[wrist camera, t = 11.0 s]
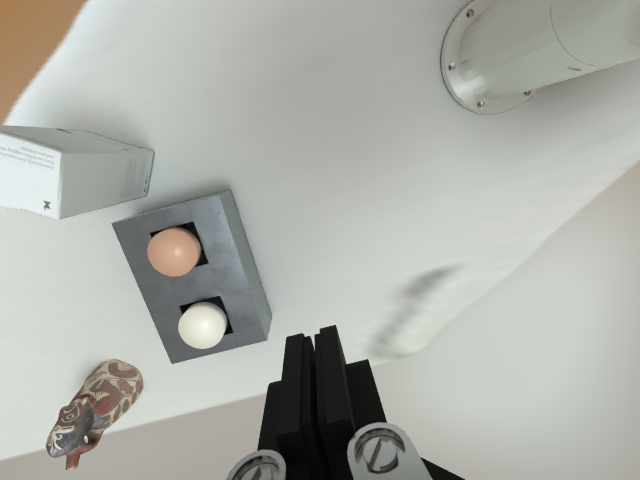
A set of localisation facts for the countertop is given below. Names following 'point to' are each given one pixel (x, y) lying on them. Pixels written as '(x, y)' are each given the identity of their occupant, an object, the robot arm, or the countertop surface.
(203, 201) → the housing
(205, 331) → the knob
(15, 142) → the skincare box
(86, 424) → the figurine
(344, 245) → the countertop surface
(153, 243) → the knob
